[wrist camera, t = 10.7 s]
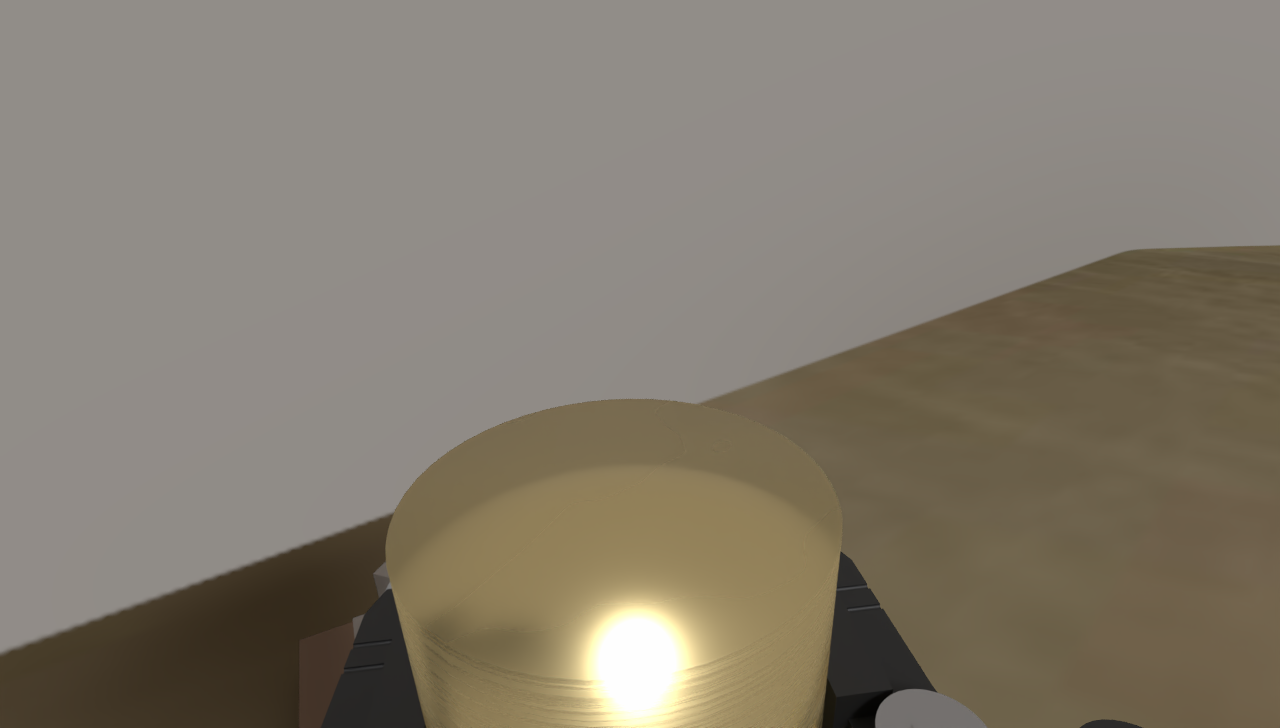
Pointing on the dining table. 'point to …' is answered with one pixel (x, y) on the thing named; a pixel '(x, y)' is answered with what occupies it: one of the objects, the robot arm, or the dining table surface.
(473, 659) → the gear
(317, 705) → the plate
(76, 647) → the dining table surface
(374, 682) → the robot arm
